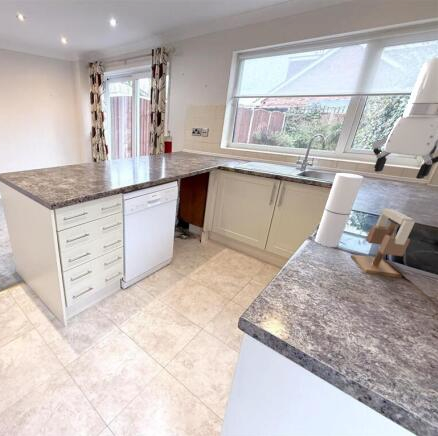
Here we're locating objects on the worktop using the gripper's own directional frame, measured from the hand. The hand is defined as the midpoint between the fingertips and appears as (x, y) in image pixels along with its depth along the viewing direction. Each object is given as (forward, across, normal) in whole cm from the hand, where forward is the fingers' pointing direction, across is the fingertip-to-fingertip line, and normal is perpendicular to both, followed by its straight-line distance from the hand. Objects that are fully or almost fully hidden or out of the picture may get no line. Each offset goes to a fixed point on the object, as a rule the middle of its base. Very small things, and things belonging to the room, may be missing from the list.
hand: (397, 174), depth 72 cm
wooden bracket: (+20, -6, +7) cm, 22 cm away
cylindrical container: (+27, +10, +4) cm, 29 cm away
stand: (+27, -6, +7) cm, 28 cm away
